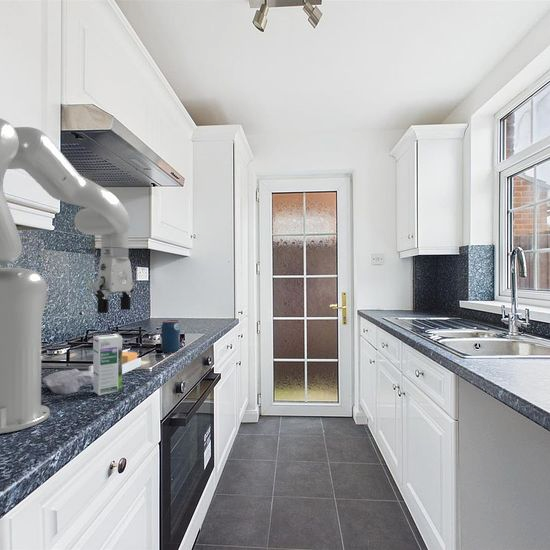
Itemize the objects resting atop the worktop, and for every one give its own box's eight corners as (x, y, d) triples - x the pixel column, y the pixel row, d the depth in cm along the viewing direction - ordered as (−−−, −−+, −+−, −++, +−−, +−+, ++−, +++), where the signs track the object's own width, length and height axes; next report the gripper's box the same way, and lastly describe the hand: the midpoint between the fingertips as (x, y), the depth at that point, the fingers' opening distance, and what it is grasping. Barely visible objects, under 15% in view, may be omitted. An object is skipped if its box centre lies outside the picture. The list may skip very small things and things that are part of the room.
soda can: (183, 351, 139) (183, 321, 139) (167, 354, 134) (167, 322, 134) (173, 348, 144) (173, 319, 144) (157, 351, 139) (158, 321, 139)
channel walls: (114, 380, 101) (114, 368, 101) (88, 378, 103) (88, 366, 103) (141, 368, 114) (141, 357, 114) (117, 367, 116) (117, 356, 116)
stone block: (63, 403, 89) (99, 384, 97) (58, 385, 88) (95, 368, 97) (38, 396, 95) (74, 379, 103) (34, 379, 94) (71, 364, 103)
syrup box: (98, 396, 88) (98, 338, 88) (92, 390, 93) (93, 334, 93) (122, 391, 92) (122, 335, 92) (115, 385, 97) (116, 332, 96)
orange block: (127, 369, 110) (127, 356, 110) (113, 368, 111) (113, 355, 111) (137, 364, 115) (137, 352, 115) (123, 364, 116) (123, 351, 116)
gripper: (104, 252, 98) (104, 314, 98) (143, 255, 114) (143, 308, 114) (82, 252, 100) (81, 313, 100) (123, 255, 116) (123, 308, 116)
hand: (114, 311), depth 107 cm, fingers open, 9 cm apart
